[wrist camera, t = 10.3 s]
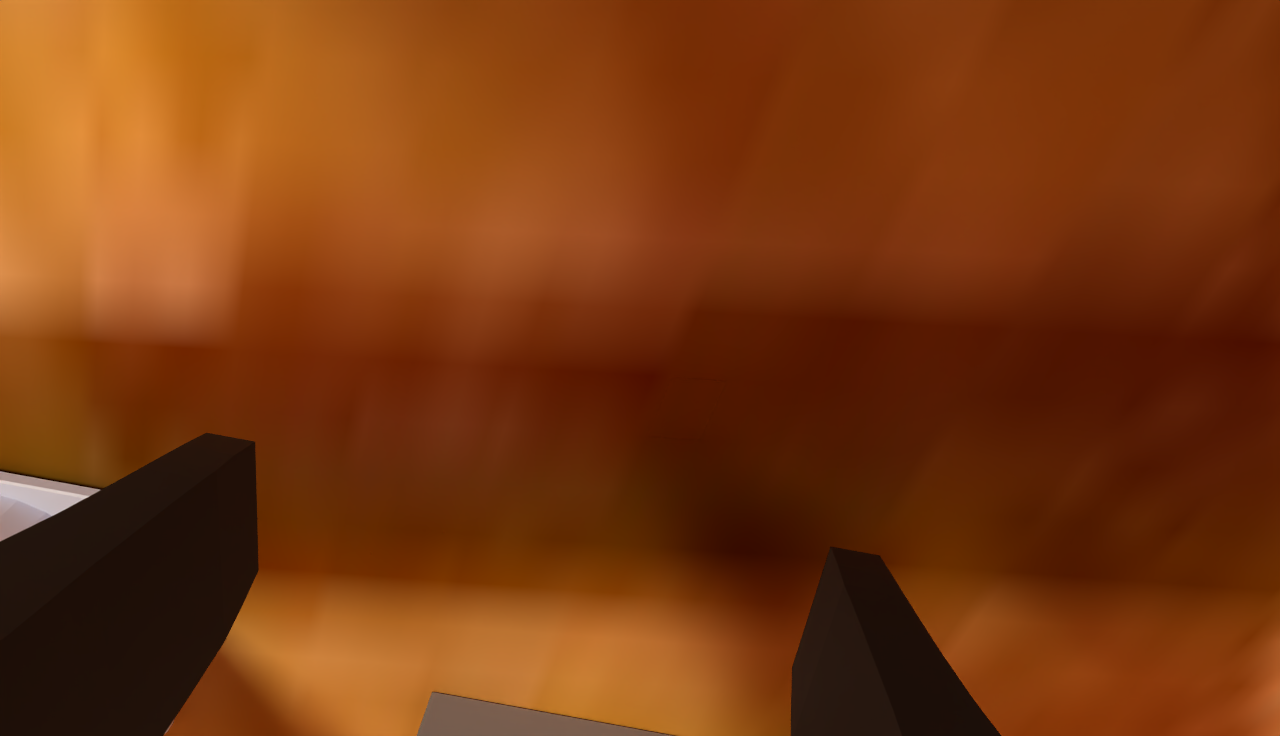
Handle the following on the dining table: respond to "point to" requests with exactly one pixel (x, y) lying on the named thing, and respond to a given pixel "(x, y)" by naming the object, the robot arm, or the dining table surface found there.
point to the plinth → (507, 721)
